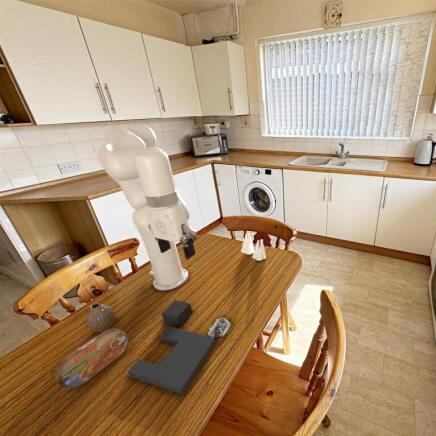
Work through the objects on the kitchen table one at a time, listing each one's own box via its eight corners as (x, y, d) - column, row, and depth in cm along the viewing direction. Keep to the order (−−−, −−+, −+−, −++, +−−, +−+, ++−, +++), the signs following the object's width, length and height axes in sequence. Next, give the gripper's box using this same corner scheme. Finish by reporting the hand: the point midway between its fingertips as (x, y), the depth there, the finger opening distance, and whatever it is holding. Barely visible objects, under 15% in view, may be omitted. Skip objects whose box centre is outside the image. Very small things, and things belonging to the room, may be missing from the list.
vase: (89, 339, 70) (77, 318, 66) (95, 322, 76) (84, 301, 72) (116, 330, 73) (106, 309, 69) (120, 314, 78) (111, 294, 75)
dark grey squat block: (164, 322, 75) (160, 313, 73) (177, 308, 80) (174, 299, 78) (180, 326, 73) (177, 317, 72) (192, 312, 78) (190, 303, 77)
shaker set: (240, 254, 109) (237, 233, 104) (246, 250, 112) (244, 229, 107) (261, 262, 103) (258, 240, 98) (267, 257, 106) (265, 236, 101)
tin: (67, 396, 56) (50, 373, 53) (62, 389, 58) (46, 366, 54) (133, 346, 68) (123, 325, 64) (127, 341, 69) (117, 320, 66)
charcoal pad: (129, 376, 60) (127, 371, 59) (170, 330, 72) (168, 326, 71) (182, 394, 56) (180, 389, 55) (216, 343, 68) (214, 338, 67)
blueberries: (205, 341, 68) (204, 336, 68) (209, 319, 76) (208, 314, 75) (229, 337, 69) (228, 333, 68) (231, 316, 76) (230, 311, 76)
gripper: (127, 200, 63) (146, 254, 70) (176, 207, 57) (191, 266, 64) (152, 192, 69) (167, 242, 77) (198, 197, 63) (209, 252, 70)
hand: (178, 253), depth 70 cm, fingers open, 9 cm apart
